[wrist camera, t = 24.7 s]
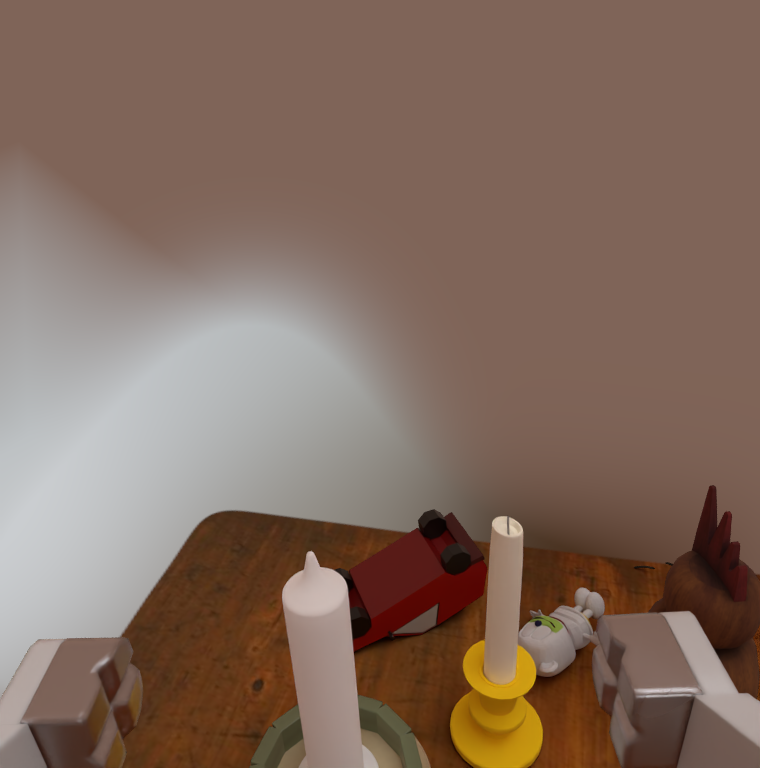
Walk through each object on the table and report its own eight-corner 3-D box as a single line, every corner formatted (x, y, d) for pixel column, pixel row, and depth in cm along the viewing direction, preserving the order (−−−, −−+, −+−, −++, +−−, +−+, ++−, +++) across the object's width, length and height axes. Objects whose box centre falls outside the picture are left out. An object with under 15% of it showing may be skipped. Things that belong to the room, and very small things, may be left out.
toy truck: (323, 644, 41) (357, 686, 44) (479, 544, 42) (503, 591, 45) (301, 581, 46) (333, 622, 49) (441, 493, 47) (465, 539, 50)
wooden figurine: (627, 658, 42) (662, 462, 35) (726, 676, 41) (784, 476, 34) (632, 757, 36) (676, 547, 30) (748, 783, 35) (823, 567, 28)
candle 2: (537, 694, 40) (557, 483, 33) (547, 780, 35) (574, 556, 28) (450, 689, 41) (451, 481, 33) (449, 773, 36) (451, 552, 29)
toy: (701, 538, 45) (554, 657, 37) (711, 580, 45) (568, 707, 38) (619, 523, 50) (477, 624, 43) (629, 561, 51) (490, 667, 43)
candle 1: (277, 792, 34) (233, 561, 27) (334, 728, 37) (308, 506, 30) (342, 847, 32) (312, 609, 25) (397, 774, 35) (385, 543, 28)
